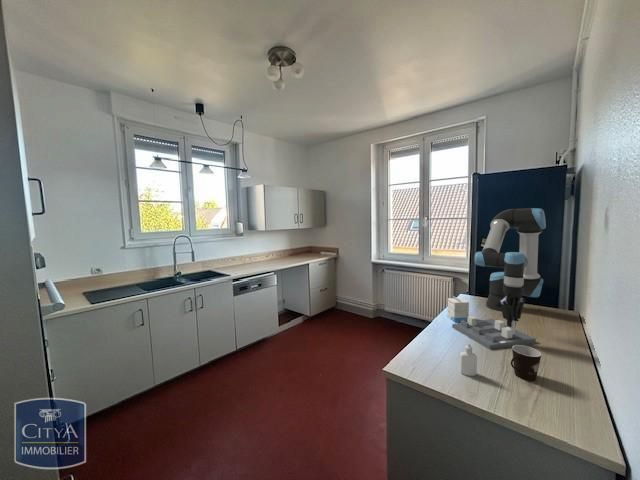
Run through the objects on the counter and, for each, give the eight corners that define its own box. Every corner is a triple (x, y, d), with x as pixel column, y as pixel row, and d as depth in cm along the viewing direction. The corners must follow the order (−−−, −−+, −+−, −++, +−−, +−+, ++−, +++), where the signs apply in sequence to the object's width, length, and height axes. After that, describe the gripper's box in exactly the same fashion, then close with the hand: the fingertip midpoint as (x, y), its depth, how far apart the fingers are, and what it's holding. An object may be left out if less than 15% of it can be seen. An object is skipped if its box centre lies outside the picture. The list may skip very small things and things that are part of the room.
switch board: (492, 322, 146) (492, 315, 146) (535, 342, 123) (536, 333, 123) (452, 327, 141) (452, 319, 141) (489, 349, 118) (489, 340, 117)
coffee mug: (529, 369, 102) (530, 345, 101) (546, 383, 93) (547, 357, 92) (497, 368, 103) (498, 344, 102) (511, 382, 94) (512, 356, 94)
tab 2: (499, 327, 135) (499, 320, 134) (504, 329, 132) (504, 322, 131) (494, 328, 134) (494, 320, 134) (499, 330, 131) (499, 322, 131)
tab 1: (472, 323, 140) (472, 316, 140) (476, 325, 138) (476, 318, 137) (467, 323, 140) (467, 316, 140) (471, 326, 137) (471, 318, 137)
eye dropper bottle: (461, 368, 104) (462, 339, 103) (477, 373, 100) (478, 343, 99) (458, 373, 100) (459, 343, 99) (474, 378, 97) (475, 348, 96)
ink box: (469, 322, 148) (469, 299, 146) (454, 322, 148) (454, 299, 147) (461, 316, 156) (461, 294, 155) (447, 316, 156) (447, 295, 155)
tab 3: (506, 335, 126) (506, 327, 126) (512, 337, 123) (512, 329, 123) (501, 335, 125) (501, 327, 125) (507, 338, 122) (507, 330, 122)
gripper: (516, 282, 127) (514, 328, 129) (494, 284, 125) (492, 331, 127) (532, 286, 120) (529, 335, 122) (509, 288, 117) (506, 338, 119)
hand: (510, 333), depth 124 cm, fingers closed
